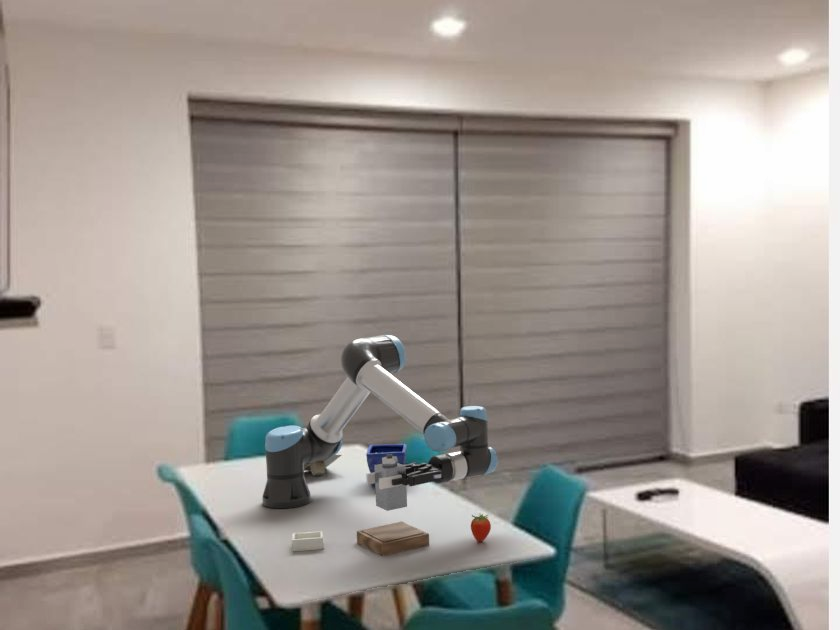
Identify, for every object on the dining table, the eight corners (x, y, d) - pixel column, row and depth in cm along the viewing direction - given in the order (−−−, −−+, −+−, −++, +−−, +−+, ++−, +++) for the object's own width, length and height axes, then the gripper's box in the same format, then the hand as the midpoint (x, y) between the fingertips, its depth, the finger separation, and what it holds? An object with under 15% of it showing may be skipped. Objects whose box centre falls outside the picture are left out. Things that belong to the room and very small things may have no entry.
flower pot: (406, 487, 293) (405, 451, 292) (367, 488, 293) (365, 452, 292) (408, 477, 306) (406, 443, 305) (370, 478, 306) (368, 444, 306)
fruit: (478, 537, 237) (477, 508, 236) (494, 540, 233) (493, 511, 233) (466, 542, 233) (466, 513, 232) (483, 546, 229) (482, 516, 229)
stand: (357, 542, 236) (356, 530, 236) (401, 532, 244) (401, 520, 244) (383, 556, 225) (382, 543, 224) (429, 544, 232) (428, 532, 232)
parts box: (292, 551, 231) (292, 540, 231) (293, 544, 237) (292, 533, 237) (323, 549, 232) (322, 537, 232) (322, 542, 238) (322, 531, 238)
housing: (376, 505, 235) (373, 454, 234) (395, 501, 238) (393, 451, 237) (387, 510, 230) (385, 458, 229) (407, 506, 233) (405, 455, 232)
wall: (287, 489, 311) (303, 467, 302) (283, 467, 316) (298, 445, 307) (330, 489, 320) (346, 467, 310) (325, 468, 325) (341, 446, 316)
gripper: (467, 487, 235) (392, 503, 223) (428, 474, 251) (356, 488, 239) (466, 460, 234) (391, 473, 222) (427, 448, 251) (355, 461, 238)
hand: (373, 481), depth 230 cm, fingers closed on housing, 6 cm apart
